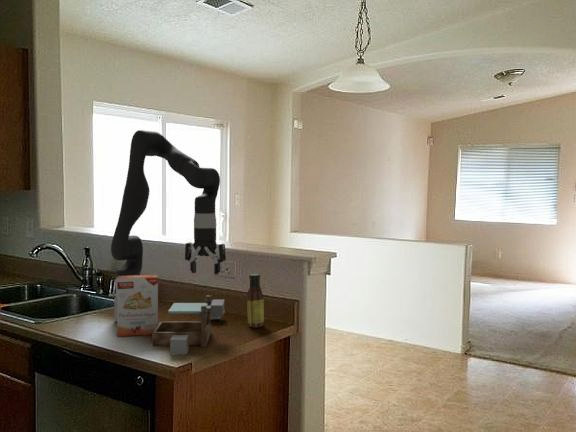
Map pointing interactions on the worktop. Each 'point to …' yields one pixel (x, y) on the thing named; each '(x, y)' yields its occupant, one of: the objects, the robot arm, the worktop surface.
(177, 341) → the gray cube
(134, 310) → the cracker box
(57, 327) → the worktop surface
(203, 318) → the frame
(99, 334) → the worktop surface
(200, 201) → the robot arm
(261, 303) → the sauce bottle
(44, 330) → the worktop surface
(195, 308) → the trapdoor
